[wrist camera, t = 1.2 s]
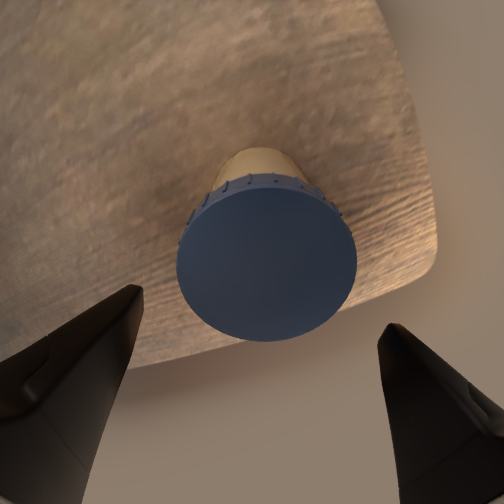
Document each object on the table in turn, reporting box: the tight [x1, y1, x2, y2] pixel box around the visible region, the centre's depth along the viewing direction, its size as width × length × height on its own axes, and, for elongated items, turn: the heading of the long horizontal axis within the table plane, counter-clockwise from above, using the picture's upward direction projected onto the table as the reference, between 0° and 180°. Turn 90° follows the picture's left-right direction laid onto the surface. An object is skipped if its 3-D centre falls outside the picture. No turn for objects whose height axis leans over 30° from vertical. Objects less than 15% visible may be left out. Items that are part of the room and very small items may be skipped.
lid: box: [176, 172, 357, 342], centre depth 12 cm, size 7×7×2 cm
